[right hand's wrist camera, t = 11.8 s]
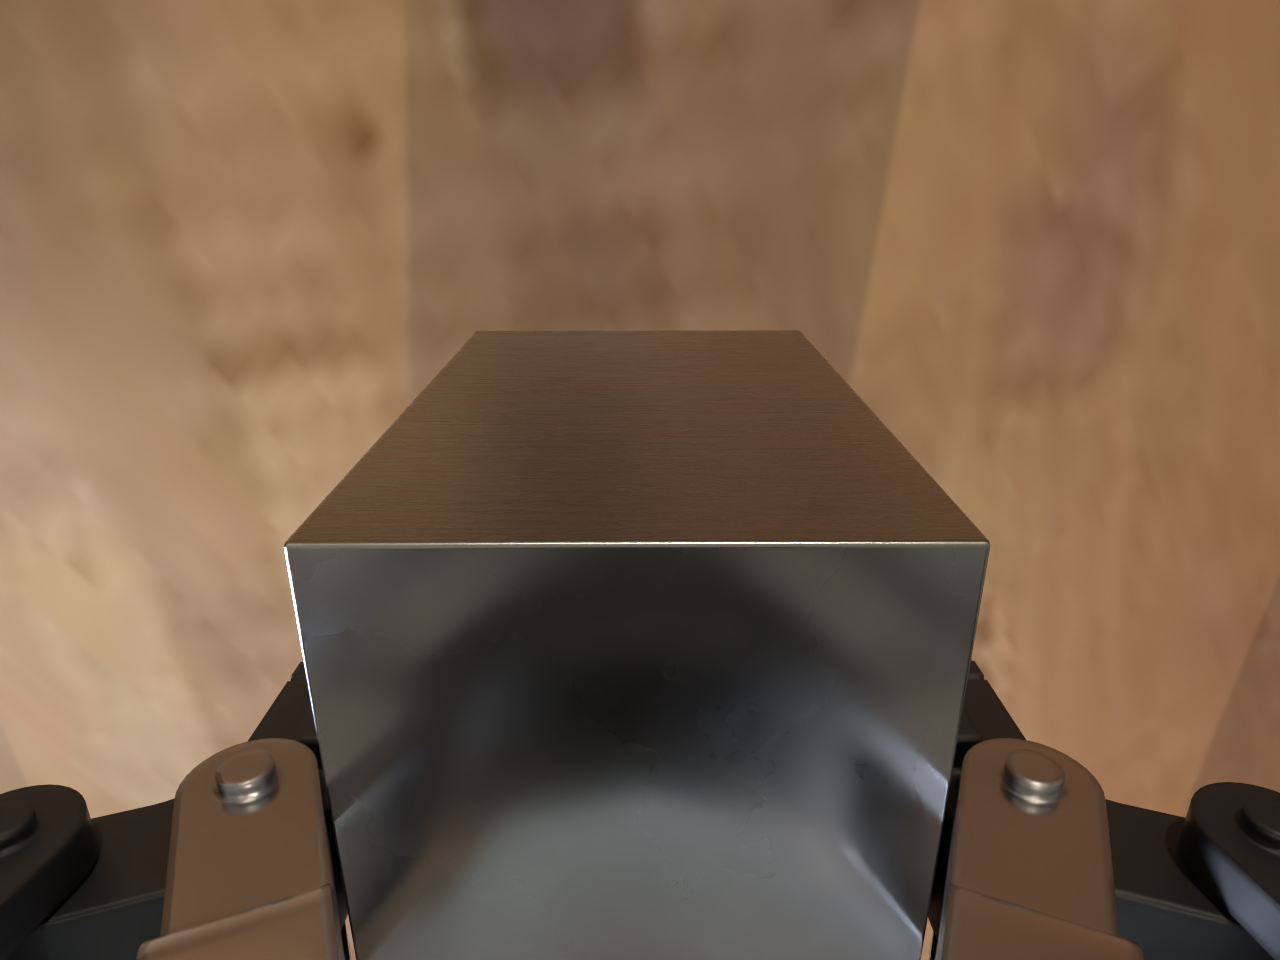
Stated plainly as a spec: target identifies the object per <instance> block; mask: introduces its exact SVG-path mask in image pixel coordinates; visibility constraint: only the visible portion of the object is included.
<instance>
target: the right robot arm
mask: <svg viewBox="0 0 1280 960" xmlns="http://www.w3.org/2000/svg"><path fill="white" fill-rule="evenodd" d="M347 914H348V909H347V903H346V898H345V892H344V886H343V881H342V875H341V869H340V864H339V858H338V852H337V847H336V841H335V835H334V829H333V824H332V818H331V812H330V807H329V801H328V795H327V790H326V784H325V778H324V773H323V767H322V761H321V755H320V750H319V744H318V738H317V733H316V727H315V721H314V716H313V710H312V704H311V699H310V693H309V687H308V682H307V676H306V670H305V664H304V661H303V662H300V664H299V665H298V667H297V668H296V670H295V671H294V673H293V674H292V676H291V681H288V682H287V683H286V685H285V686H284V688H283V689H282V691H281V692H280V694H279V695H278V697H277V698H276V700H275V701H274V703H273V704H272V706H271V707H270V709H269V710H268V712H267V713H266V715H265V716H264V718H263V719H262V721H261V722H260V724H259V725H258V727H257V728H256V730H255V731H254V733H253V734H252V736H251V737H250V739H249V740H248V742H244V743H241V744H238V745H235V746H232V747H229V748H227V749H224V750H222V751H220V752H218V753H216V754H214V755H213V756H211V757H209V758H208V759H206V760H205V761H203V762H202V763H200V764H199V765H198V766H197V767H195V768H194V769H193V770H192V771H191V772H190V773H189V774H188V775H187V776H186V777H185V779H184V780H183V781H182V783H181V784H180V786H179V788H178V790H177V792H176V795H175V798H174V799H172V800H169V801H166V802H163V803H159V804H155V805H151V806H147V807H142V808H138V809H133V810H129V811H124V812H120V813H115V814H111V815H106V816H102V817H97V818H93V819H91V818H90V815H89V812H88V808H87V805H86V802H85V800H84V798H83V796H82V795H81V794H80V793H79V792H78V791H76V790H74V789H72V788H70V787H65V786H61V785H37V786H30V787H24V788H20V789H16V790H12V791H9V792H6V793H3V794H0V960H351V954H350V947H349V941H348V935H347V930H346V924H345V920H346V917H347ZM928 918H929V921H930V923H931V926H932V929H933V935H932V941H931V947H930V954H929V960H1280V793H1279V792H1276V791H1273V790H1270V789H1267V788H1263V787H1259V786H1255V785H1250V784H1244V783H1234V782H1222V783H1214V784H1209V785H1206V786H1204V787H1202V788H1200V789H1199V790H1198V791H1197V792H1195V794H1194V795H1193V797H1192V799H1191V803H1190V806H1189V809H1188V812H1187V816H1186V818H1184V817H1179V816H1175V815H1170V814H1166V813H1161V812H1157V811H1152V810H1148V809H1143V808H1139V807H1134V806H1130V805H1125V804H1121V803H1117V802H1114V801H1110V800H1107V799H1105V795H1104V792H1103V790H1102V788H1101V786H1100V784H1099V783H1098V781H1097V780H1096V779H1095V777H1094V776H1093V775H1092V774H1091V773H1090V772H1089V771H1088V770H1087V769H1086V768H1085V767H1083V766H1082V765H1081V764H1080V763H1078V762H1077V761H1075V760H1074V759H1072V758H1071V757H1069V756H1067V755H1066V754H1064V753H1062V752H1060V751H1058V750H1056V749H1053V748H1051V747H1048V746H1045V745H1042V744H1039V743H1036V742H1032V741H1027V740H1026V739H1025V737H1024V736H1023V734H1022V733H1021V731H1020V730H1019V728H1018V727H1017V725H1016V724H1015V722H1014V721H1013V719H1012V718H1011V716H1010V715H1009V713H1008V712H1007V710H1006V709H1005V707H1004V705H1003V704H1002V702H1001V701H1000V699H999V698H998V696H997V695H996V693H995V692H994V690H993V689H992V687H991V686H990V684H989V683H988V681H987V680H984V675H983V673H982V672H981V670H980V669H979V667H978V666H977V664H976V663H975V661H971V663H970V668H969V674H968V680H967V686H966V692H965V698H964V704H963V710H962V716H961V722H960V728H959V734H958V740H957V746H956V752H955V758H954V763H953V769H952V775H951V781H950V787H949V793H948V799H947V805H946V811H945V817H944V823H943V829H942V835H941V841H940V847H939V852H938V858H937V864H936V870H935V876H934V882H933V888H932V894H931V900H930V906H929V912H928Z"/></svg>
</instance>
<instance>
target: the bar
mask: <svg viewBox="0 0 1280 960" xmlns="http://www.w3.org/2000/svg"><path fill="white" fill-rule="evenodd" d="M989 550H990V543H989V541H988V539H987V538H986V537H985V536H984V535H983V534H982V533H981V532H980V531H979V529H978V528H977V527H976V526H975V525H974V524H973V523H972V522H971V521H970V519H969V518H968V517H967V516H966V515H965V514H964V513H963V512H962V511H961V509H960V508H959V507H958V506H957V505H956V504H955V503H954V502H953V501H952V499H951V498H950V497H949V496H948V495H947V494H946V493H945V492H944V491H943V489H942V488H941V487H940V486H939V485H938V484H937V483H936V482H935V481H934V479H933V478H932V477H931V476H930V475H929V474H928V473H927V472H926V471H925V469H924V468H923V467H922V466H921V465H920V464H919V463H918V462H917V460H916V459H915V458H914V457H913V456H912V455H911V454H910V453H909V452H908V450H907V449H906V448H905V447H904V446H903V445H902V444H901V443H900V442H899V440H898V439H897V438H896V437H895V436H894V435H893V434H892V433H891V432H890V430H889V429H888V428H887V427H886V426H885V425H884V424H883V423H882V422H881V420H880V419H879V418H878V417H877V416H876V415H875V414H874V413H873V412H872V410H871V409H870V408H869V407H868V406H867V405H866V404H865V403H864V402H863V400H862V399H861V398H860V397H859V396H858V395H857V394H856V393H855V392H854V390H853V389H852V388H851V387H850V386H849V385H848V384H847V383H846V382H845V380H844V379H843V378H842V377H841V376H840V375H839V374H838V373H837V371H836V370H835V369H834V368H833V367H832V366H831V365H830V364H829V363H828V361H827V360H826V359H825V358H824V357H823V356H822V355H821V354H820V353H819V351H818V350H817V349H816V348H815V347H814V346H813V345H812V344H811V343H810V341H809V340H808V339H807V338H806V337H805V336H804V335H803V334H802V333H801V331H477V332H476V333H475V334H474V335H473V336H472V337H471V338H470V339H469V340H468V341H467V342H466V344H465V345H464V346H463V347H462V348H461V349H460V350H459V351H458V352H457V354H456V355H455V356H454V357H453V358H452V359H451V360H450V361H449V362H448V363H447V365H446V366H445V367H444V368H443V369H442V370H441V371H440V372H439V373H438V374H437V376H436V377H435V378H434V379H433V380H432V381H431V382H430V383H429V384H428V386H427V387H426V388H425V389H424V390H423V391H422V392H421V393H420V394H419V395H418V397H417V398H416V399H415V400H414V401H413V402H412V403H411V404H410V405H409V406H408V408H407V409H406V410H405V411H404V412H403V413H402V414H401V415H400V416H399V418H398V419H397V420H396V421H395V422H394V423H393V424H392V425H391V426H390V427H389V429H388V430H387V431H386V432H385V433H384V434H383V435H382V436H381V437H380V438H379V440H378V441H377V442H376V443H375V444H374V445H373V446H372V447H371V448H370V450H369V451H368V452H367V453H366V454H365V455H364V456H363V457H362V458H361V459H360V461H359V462H358V463H357V464H356V465H355V466H354V467H353V468H352V469H351V470H350V472H349V473H348V474H347V475H346V476H345V477H344V478H343V479H342V480H341V481H340V483H339V484H338V485H337V486H336V487H335V488H334V489H333V490H332V491H331V493H330V494H329V495H328V496H327V497H326V498H325V499H324V500H323V501H322V502H321V504H320V505H319V506H318V507H317V508H316V509H315V510H314V511H313V512H312V513H311V515H310V516H309V517H308V518H307V519H306V520H305V521H304V522H303V523H302V525H301V526H300V527H299V528H298V529H297V530H296V531H295V532H294V533H293V534H292V536H291V537H290V538H289V539H288V540H287V541H286V542H285V545H284V551H285V556H286V562H287V568H288V573H289V579H290V585H291V590H292V596H293V602H294V608H295V613H296V619H297V625H298V630H299V636H300V642H301V647H302V653H303V659H304V664H305V670H306V676H307V682H308V687H309V693H310V699H311V704H312V710H313V716H314V721H315V727H316V733H317V738H318V744H319V750H320V755H321V761H322V767H323V773H324V778H325V784H326V790H327V795H328V801H329V807H330V812H331V818H332V824H333V829H334V835H335V841H336V847H337V852H338V858H339V864H340V869H341V875H342V881H343V886H344V892H345V898H346V903H347V909H348V915H349V921H350V926H351V932H352V938H353V943H354V949H355V955H356V960H920V959H921V953H922V947H923V941H924V936H925V930H926V924H927V918H928V912H929V906H930V900H931V894H932V888H933V882H934V876H935V870H936V864H937V858H938V852H939V847H940V841H941V835H942V829H943V823H944V817H945V811H946V805H947V799H948V793H949V787H950V781H951V775H952V769H953V763H954V758H955V752H956V746H957V740H958V734H959V728H960V722H961V716H962V710H963V704H964V698H965V692H966V686H967V680H968V674H969V668H970V663H971V657H972V651H973V645H974V639H975V633H976V627H977V621H978V615H979V609H980V603H981V597H982V591H983V585H984V579H985V574H986V568H987V562H988V556H989Z"/></svg>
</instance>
